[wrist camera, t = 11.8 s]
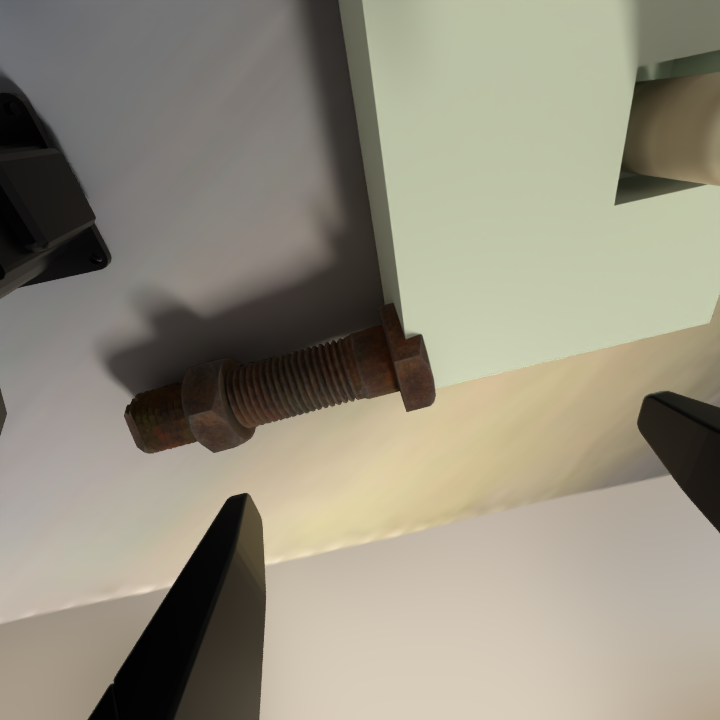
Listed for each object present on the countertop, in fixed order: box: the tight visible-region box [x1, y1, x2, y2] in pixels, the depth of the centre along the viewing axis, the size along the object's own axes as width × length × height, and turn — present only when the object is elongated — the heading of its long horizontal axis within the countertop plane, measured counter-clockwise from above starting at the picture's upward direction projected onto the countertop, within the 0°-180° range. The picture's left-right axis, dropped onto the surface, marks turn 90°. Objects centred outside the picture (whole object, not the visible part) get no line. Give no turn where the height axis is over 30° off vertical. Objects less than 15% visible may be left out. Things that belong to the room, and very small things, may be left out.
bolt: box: [124, 302, 436, 453], centre depth 20 cm, size 6×5×15 cm
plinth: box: [338, 0, 720, 389], centre depth 16 cm, size 15×18×4 cm
